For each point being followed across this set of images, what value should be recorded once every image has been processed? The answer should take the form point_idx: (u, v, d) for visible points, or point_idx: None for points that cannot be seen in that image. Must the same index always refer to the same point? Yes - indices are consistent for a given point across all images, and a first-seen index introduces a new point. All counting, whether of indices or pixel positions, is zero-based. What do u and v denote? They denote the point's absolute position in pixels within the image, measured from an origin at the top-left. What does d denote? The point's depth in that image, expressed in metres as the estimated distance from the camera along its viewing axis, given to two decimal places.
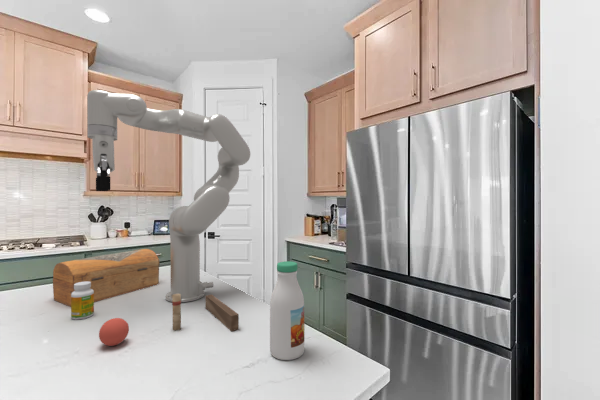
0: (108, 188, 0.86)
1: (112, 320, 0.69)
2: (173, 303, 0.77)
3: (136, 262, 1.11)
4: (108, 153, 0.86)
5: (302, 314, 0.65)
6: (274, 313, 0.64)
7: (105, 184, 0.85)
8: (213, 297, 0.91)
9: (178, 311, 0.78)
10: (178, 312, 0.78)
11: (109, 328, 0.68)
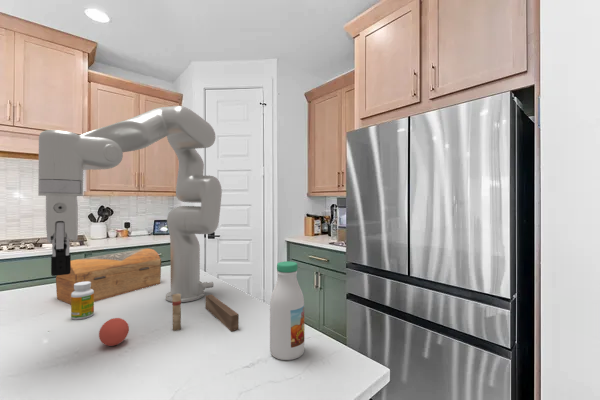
0: (67, 271, 0.64)
1: (112, 320, 0.69)
2: (173, 303, 0.77)
3: (137, 262, 1.12)
4: (67, 220, 0.61)
5: (302, 314, 0.65)
6: (274, 313, 0.64)
7: (63, 267, 0.63)
8: (213, 297, 0.91)
9: (178, 311, 0.78)
10: (178, 312, 0.78)
11: (109, 328, 0.68)
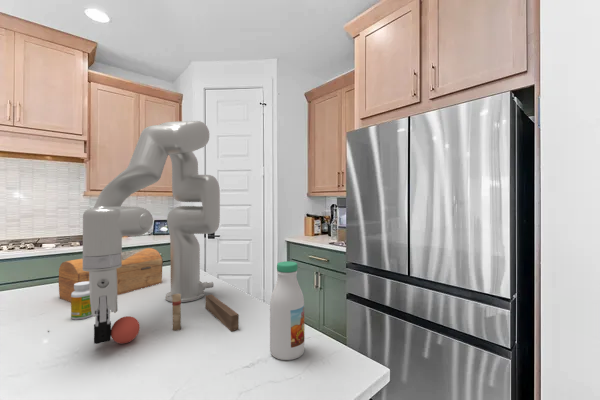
0: (108, 338, 0.69)
1: (131, 318, 0.71)
2: (173, 303, 0.77)
3: (139, 261, 1.13)
4: (109, 294, 0.65)
5: (302, 314, 0.65)
6: (274, 313, 0.64)
7: (104, 335, 0.68)
8: (213, 297, 0.91)
9: (178, 311, 0.78)
10: (178, 312, 0.78)
11: (127, 325, 0.69)
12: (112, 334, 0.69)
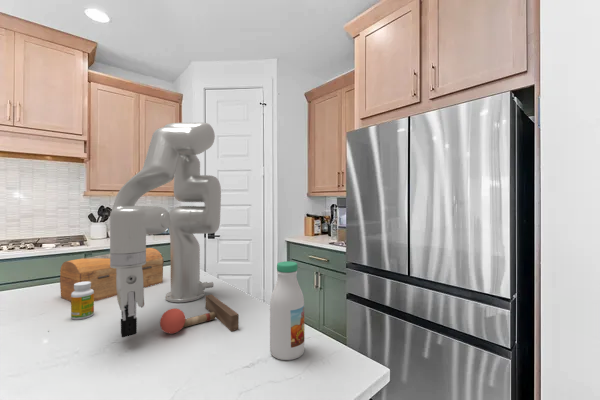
0: (134, 332, 0.72)
1: None
2: (208, 314, 0.83)
3: None
4: (137, 289, 0.68)
5: (302, 314, 0.65)
6: (274, 313, 0.64)
7: (131, 329, 0.71)
8: (213, 297, 0.91)
9: (200, 321, 0.81)
10: (199, 321, 0.81)
11: (171, 333, 0.74)
12: None
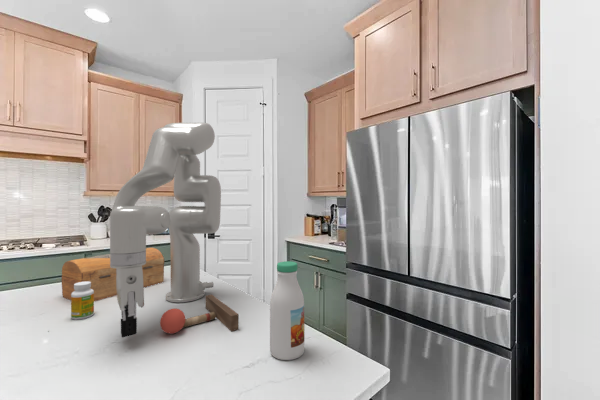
0: (134, 332, 0.72)
1: None
2: (208, 314, 0.83)
3: None
4: (137, 289, 0.68)
5: (302, 314, 0.65)
6: (274, 313, 0.64)
7: (131, 329, 0.71)
8: (213, 297, 0.91)
9: (200, 321, 0.81)
10: (199, 321, 0.81)
11: (171, 333, 0.74)
12: None
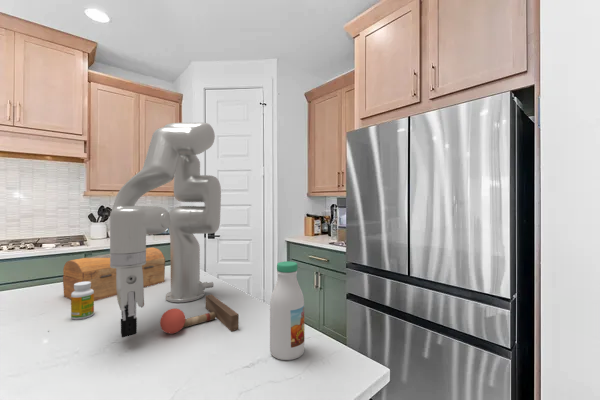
0: (134, 332, 0.72)
1: None
2: (208, 314, 0.83)
3: None
4: (137, 289, 0.68)
5: (302, 314, 0.65)
6: (274, 313, 0.64)
7: (131, 329, 0.71)
8: (213, 297, 0.91)
9: (200, 321, 0.81)
10: (199, 321, 0.81)
11: (171, 333, 0.74)
12: None
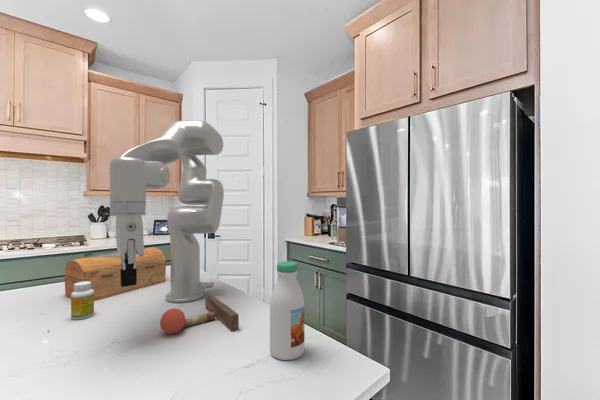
0: (134, 282, 0.72)
1: None
2: (208, 314, 0.83)
3: (143, 260, 1.15)
4: (136, 237, 0.68)
5: (302, 314, 0.65)
6: (274, 313, 0.64)
7: (131, 279, 0.71)
8: (213, 297, 0.91)
9: (200, 321, 0.81)
10: (199, 321, 0.81)
11: (171, 333, 0.74)
12: None
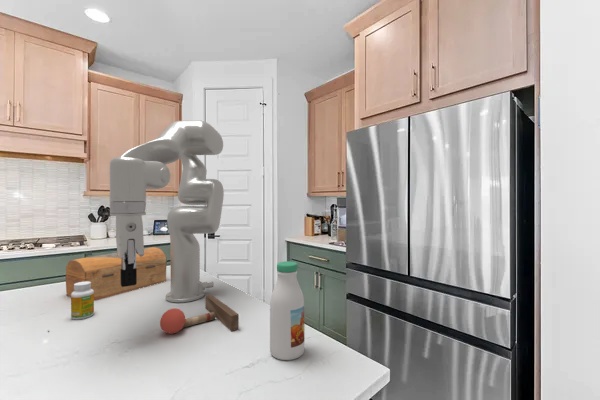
0: (134, 282, 0.72)
1: None
2: (208, 314, 0.83)
3: (144, 260, 1.15)
4: (136, 237, 0.68)
5: (302, 314, 0.65)
6: (274, 313, 0.64)
7: (131, 279, 0.71)
8: (213, 297, 0.91)
9: (200, 321, 0.81)
10: (199, 321, 0.81)
11: (171, 333, 0.74)
12: None
